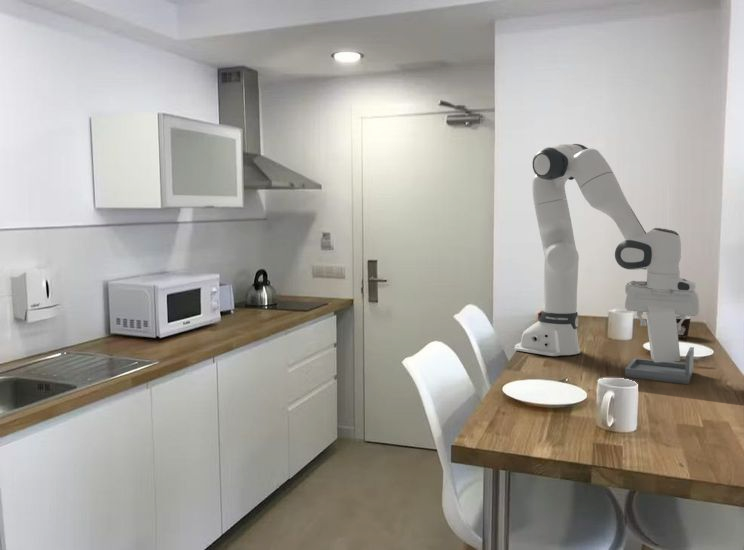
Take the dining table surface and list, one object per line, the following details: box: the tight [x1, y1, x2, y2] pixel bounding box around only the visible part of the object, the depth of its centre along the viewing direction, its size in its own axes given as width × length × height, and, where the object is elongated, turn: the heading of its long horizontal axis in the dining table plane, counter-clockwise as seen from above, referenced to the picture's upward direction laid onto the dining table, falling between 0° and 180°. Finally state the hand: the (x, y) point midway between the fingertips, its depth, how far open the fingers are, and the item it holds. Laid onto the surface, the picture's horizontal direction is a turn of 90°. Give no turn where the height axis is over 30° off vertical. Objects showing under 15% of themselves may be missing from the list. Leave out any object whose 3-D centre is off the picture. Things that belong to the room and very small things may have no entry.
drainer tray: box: [624, 346, 695, 385], centre depth 184 cm, size 17×16×8 cm
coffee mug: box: [676, 315, 691, 340], centre depth 232 cm, size 12×9×10 cm
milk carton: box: [645, 305, 682, 362], centre depth 183 cm, size 7×7×19 cm
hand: (660, 327), depth 184 cm, fingers closed on milk carton, 8 cm apart
